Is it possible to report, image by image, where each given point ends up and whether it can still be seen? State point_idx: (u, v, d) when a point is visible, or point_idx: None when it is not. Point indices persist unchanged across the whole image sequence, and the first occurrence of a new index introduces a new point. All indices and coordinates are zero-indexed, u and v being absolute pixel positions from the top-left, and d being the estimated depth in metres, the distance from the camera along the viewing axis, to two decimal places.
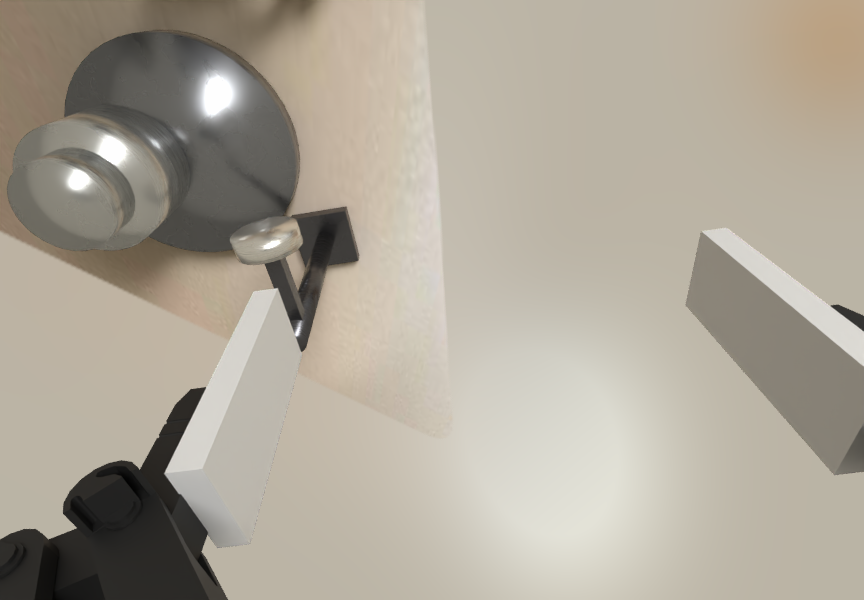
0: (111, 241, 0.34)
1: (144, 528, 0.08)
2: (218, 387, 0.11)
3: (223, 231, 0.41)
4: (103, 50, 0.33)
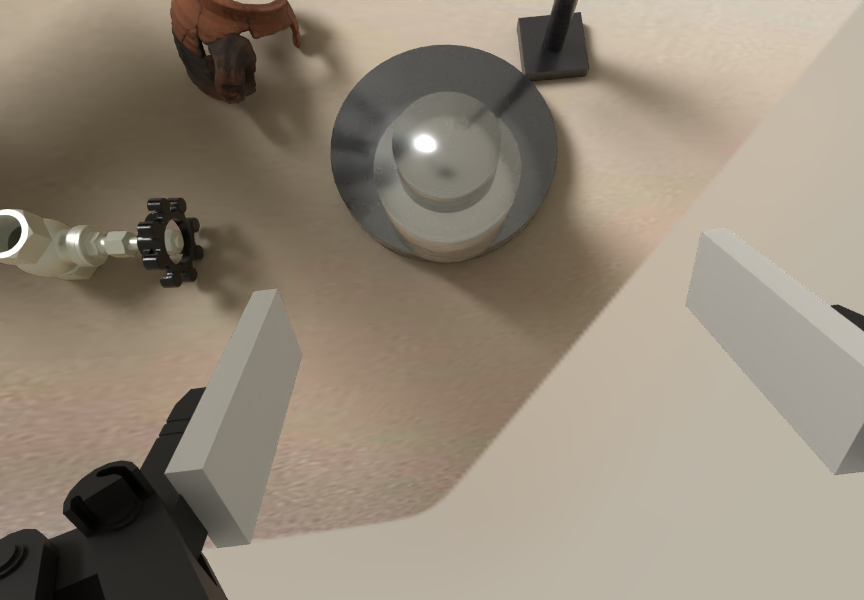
0: (509, 165, 0.29)
1: (144, 528, 0.08)
2: (218, 387, 0.11)
3: (531, 132, 0.35)
4: (340, 185, 0.35)
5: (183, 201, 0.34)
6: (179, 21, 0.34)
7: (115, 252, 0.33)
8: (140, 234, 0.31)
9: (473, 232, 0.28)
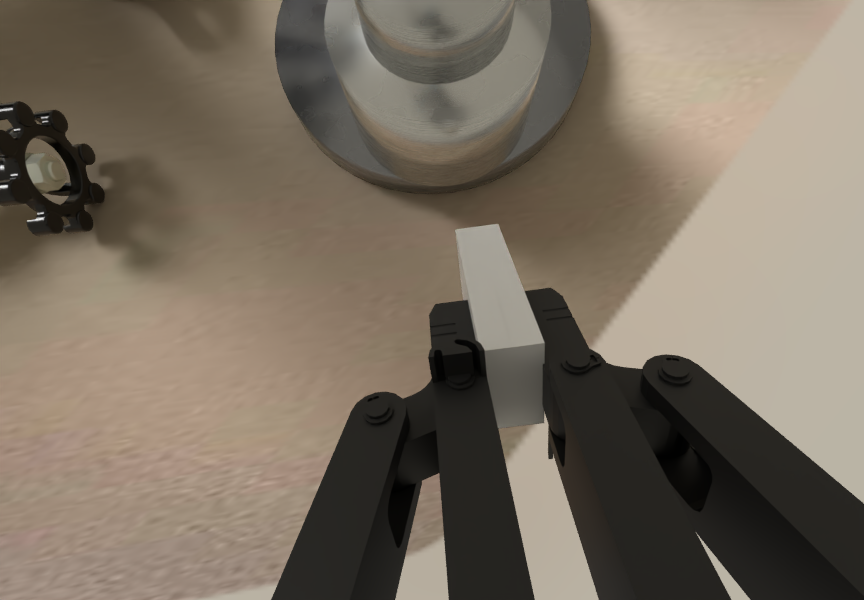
0: (532, 9, 0.19)
1: (472, 399, 0.10)
2: (480, 295, 0.13)
3: (552, 4, 0.25)
4: (290, 90, 0.25)
5: (61, 116, 0.24)
6: None
7: None
8: None
9: (482, 111, 0.18)
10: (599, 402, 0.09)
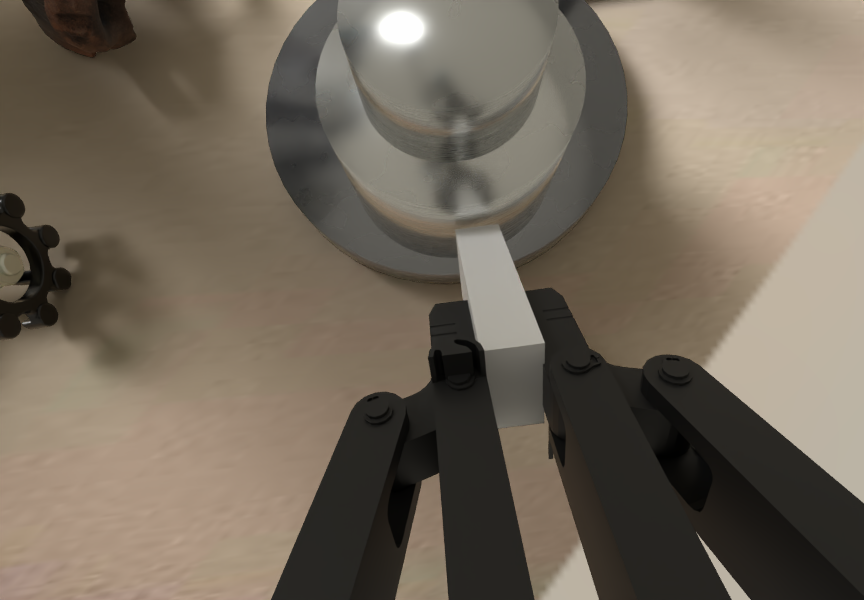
0: (563, 69, 0.16)
1: (472, 399, 0.10)
2: (479, 295, 0.13)
3: None
4: (283, 169, 0.22)
5: (16, 199, 0.21)
6: None
7: None
8: None
9: (506, 194, 0.15)
10: (599, 402, 0.09)
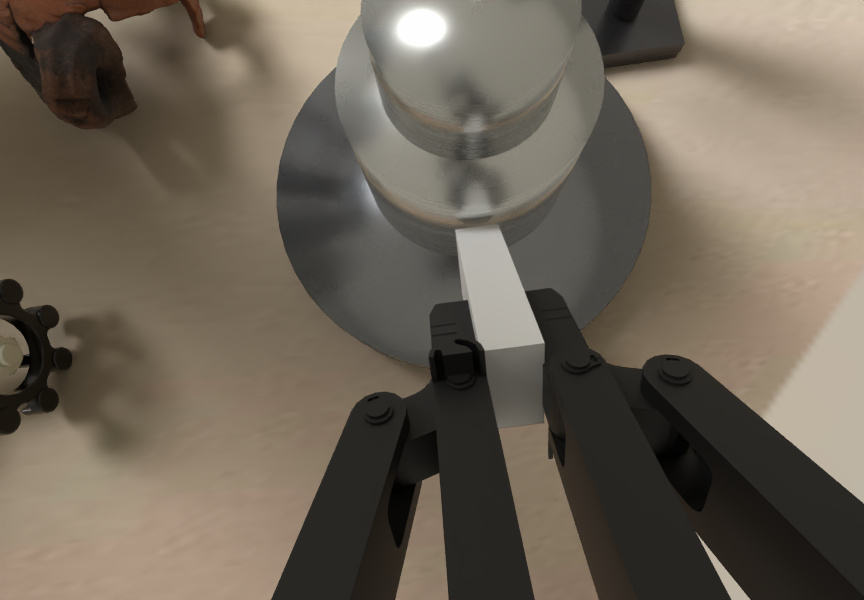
0: (582, 75, 0.16)
1: (472, 399, 0.10)
2: (480, 295, 0.13)
3: (605, 150, 0.21)
4: (295, 254, 0.21)
5: (14, 284, 0.21)
6: None
7: None
8: None
9: (515, 195, 0.15)
10: (599, 402, 0.09)
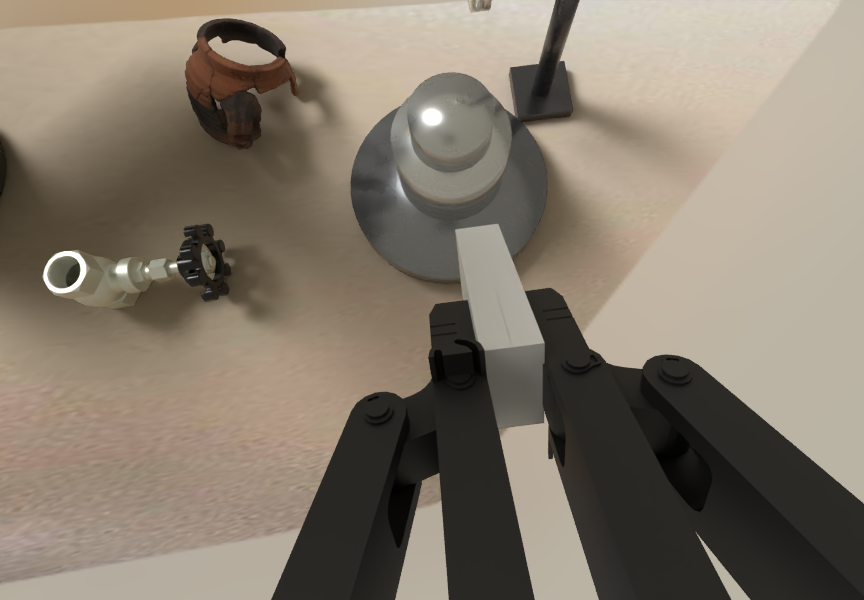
0: (501, 136, 0.35)
1: (472, 399, 0.10)
2: (480, 295, 0.13)
3: (524, 168, 0.41)
4: (360, 218, 0.41)
5: (210, 226, 0.40)
6: (194, 82, 0.40)
7: (159, 277, 0.39)
8: (182, 257, 0.36)
9: (470, 188, 0.34)
10: (599, 402, 0.09)
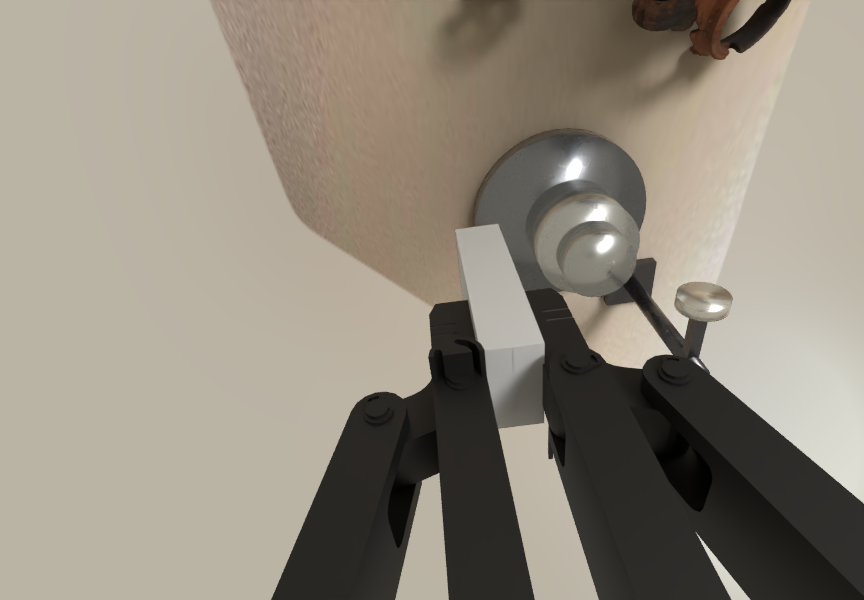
0: None
1: (472, 399, 0.10)
2: (480, 295, 0.13)
3: None
4: (536, 146, 0.43)
5: None
6: None
7: None
8: None
9: (540, 266, 0.43)
10: (599, 402, 0.09)
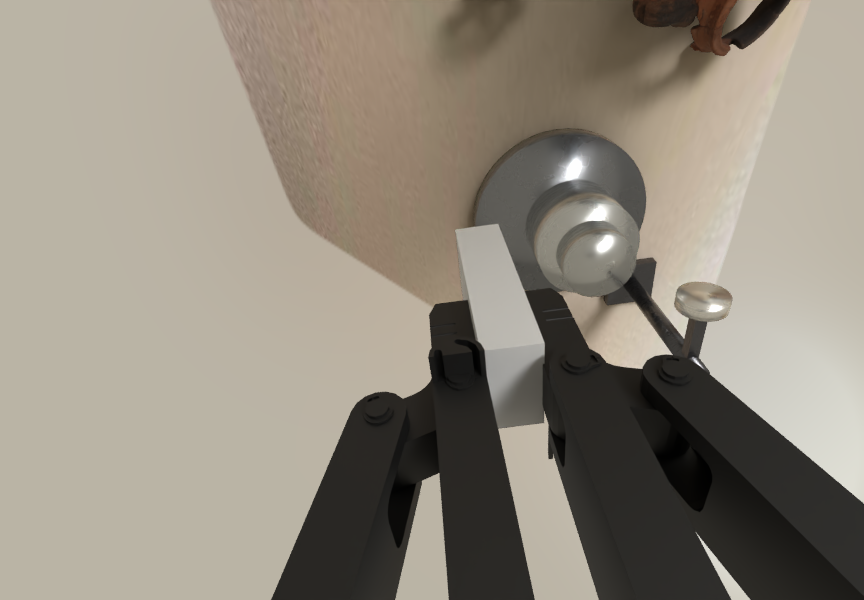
0: None
1: (472, 399, 0.10)
2: (480, 295, 0.13)
3: None
4: (536, 146, 0.43)
5: None
6: None
7: None
8: None
9: (540, 266, 0.43)
10: (599, 402, 0.09)
